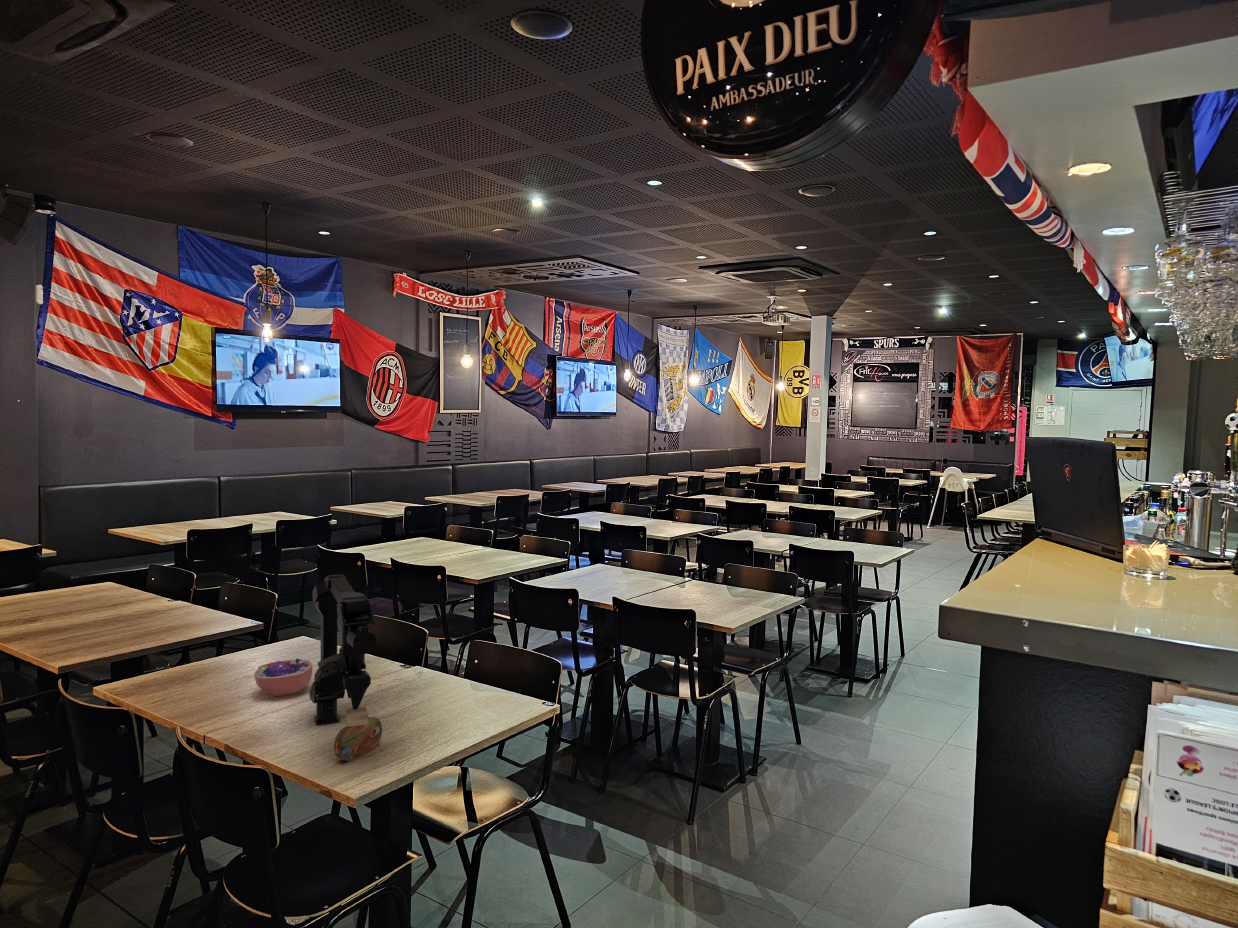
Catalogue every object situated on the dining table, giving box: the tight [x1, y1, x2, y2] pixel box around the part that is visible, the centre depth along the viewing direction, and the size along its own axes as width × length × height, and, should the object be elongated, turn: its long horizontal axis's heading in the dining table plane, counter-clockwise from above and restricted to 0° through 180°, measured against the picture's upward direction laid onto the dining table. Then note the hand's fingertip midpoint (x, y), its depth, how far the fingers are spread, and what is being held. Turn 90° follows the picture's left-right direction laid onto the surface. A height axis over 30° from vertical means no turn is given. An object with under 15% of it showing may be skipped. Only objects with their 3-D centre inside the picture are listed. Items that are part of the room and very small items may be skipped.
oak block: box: [344, 705, 369, 727], centre depth 192 cm, size 5×5×3 cm
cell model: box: [253, 657, 313, 698], centre depth 237 cm, size 17×20×11 cm
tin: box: [334, 716, 383, 762], centre depth 192 cm, size 15×3×8 cm, turn 157°
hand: (352, 703), depth 193 cm, fingers open, 9 cm apart
